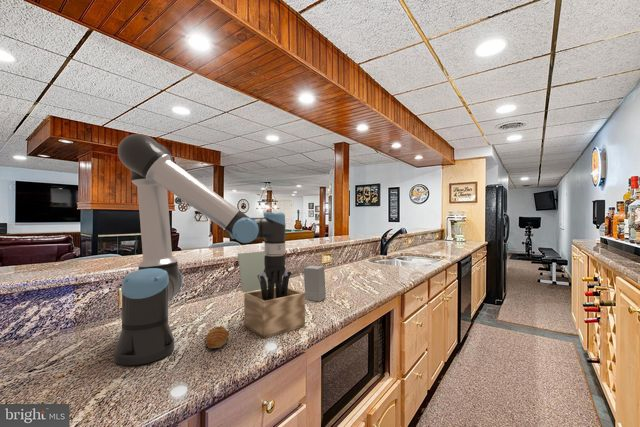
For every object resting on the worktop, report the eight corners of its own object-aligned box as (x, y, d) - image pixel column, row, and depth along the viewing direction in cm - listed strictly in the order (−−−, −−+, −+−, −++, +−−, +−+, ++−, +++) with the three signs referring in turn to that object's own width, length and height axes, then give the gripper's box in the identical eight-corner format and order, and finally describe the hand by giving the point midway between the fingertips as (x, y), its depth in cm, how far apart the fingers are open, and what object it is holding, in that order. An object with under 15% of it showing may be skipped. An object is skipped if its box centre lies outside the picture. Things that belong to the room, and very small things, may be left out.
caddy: (263, 338, 97) (263, 302, 97) (244, 326, 108) (244, 293, 108) (304, 326, 108) (305, 293, 108) (283, 316, 119) (283, 286, 119)
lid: (238, 253, 111) (236, 254, 112) (243, 292, 108) (241, 293, 109) (278, 250, 122) (276, 250, 123) (284, 285, 119) (282, 285, 120)
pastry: (226, 349, 89) (227, 336, 89) (202, 351, 87) (203, 338, 87) (228, 336, 98) (229, 325, 98) (206, 338, 96) (207, 326, 96)
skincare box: (326, 299, 143) (326, 266, 143) (318, 302, 137) (318, 268, 137) (311, 296, 148) (311, 264, 148) (303, 299, 141) (303, 266, 142)
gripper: (262, 257, 100) (262, 327, 100) (296, 254, 110) (296, 317, 110) (252, 255, 106) (251, 321, 106) (285, 252, 115) (285, 312, 115)
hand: (274, 319), depth 108 cm, fingers closed
